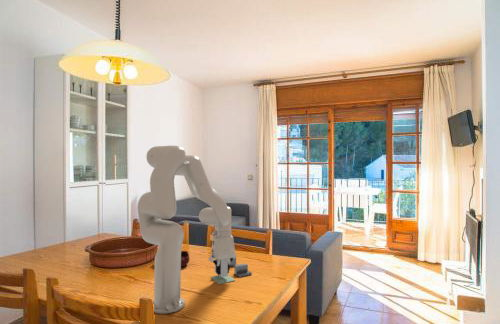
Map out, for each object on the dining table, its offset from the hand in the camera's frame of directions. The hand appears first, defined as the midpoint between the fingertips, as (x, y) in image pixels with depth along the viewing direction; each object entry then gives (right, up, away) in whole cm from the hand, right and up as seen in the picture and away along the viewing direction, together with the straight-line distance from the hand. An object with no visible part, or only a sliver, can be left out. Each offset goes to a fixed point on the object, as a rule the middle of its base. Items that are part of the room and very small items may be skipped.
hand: (222, 272), depth 140 cm
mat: (0, -3, 0) cm, 3 cm away
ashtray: (-27, -3, +22) cm, 34 cm away
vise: (+5, -3, +13) cm, 15 cm away
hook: (-1, -1, +2) cm, 2 cm away
